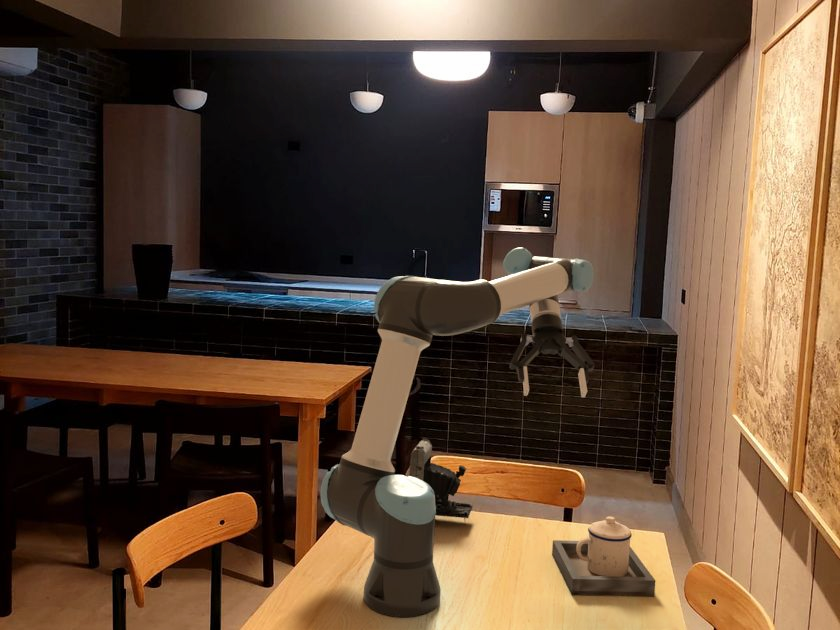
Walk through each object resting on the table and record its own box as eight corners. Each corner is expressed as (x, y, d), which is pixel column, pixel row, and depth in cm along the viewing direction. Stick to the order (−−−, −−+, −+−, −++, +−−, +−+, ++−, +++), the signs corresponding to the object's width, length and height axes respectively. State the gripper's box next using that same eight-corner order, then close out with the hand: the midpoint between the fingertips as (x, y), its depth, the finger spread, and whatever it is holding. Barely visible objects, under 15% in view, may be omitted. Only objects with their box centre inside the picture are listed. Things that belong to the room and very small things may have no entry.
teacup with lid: (616, 559, 169) (619, 508, 168) (636, 577, 160) (640, 524, 159) (566, 562, 166) (569, 511, 165) (584, 581, 157) (588, 527, 156)
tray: (571, 595, 153) (572, 578, 153) (551, 555, 172) (552, 540, 172) (654, 596, 154) (655, 580, 154) (625, 556, 173) (626, 541, 173)
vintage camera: (466, 534, 183) (473, 454, 181) (404, 525, 186) (410, 446, 184) (471, 520, 193) (478, 444, 191) (412, 511, 196) (418, 436, 194)
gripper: (592, 332, 193) (604, 403, 180) (494, 329, 192) (500, 400, 179) (599, 314, 187) (612, 386, 174) (498, 310, 186) (504, 383, 173)
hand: (555, 393), depth 176 cm, fingers open, 13 cm apart
